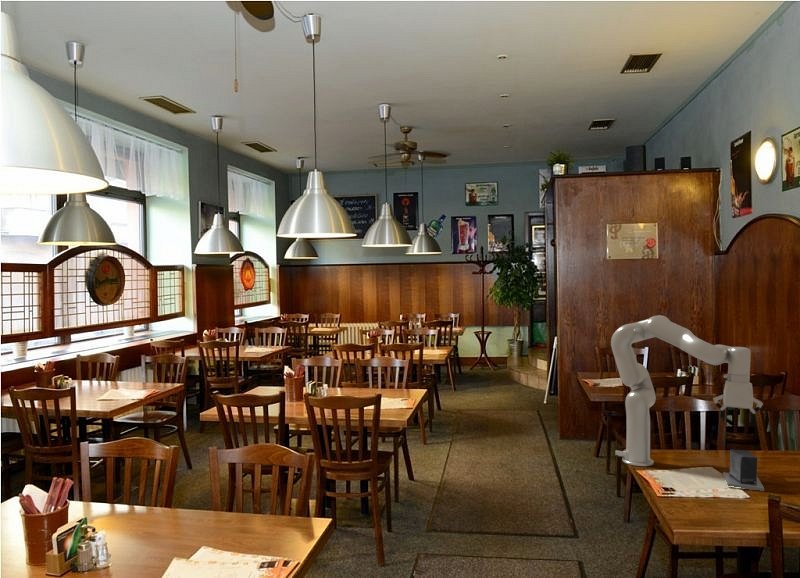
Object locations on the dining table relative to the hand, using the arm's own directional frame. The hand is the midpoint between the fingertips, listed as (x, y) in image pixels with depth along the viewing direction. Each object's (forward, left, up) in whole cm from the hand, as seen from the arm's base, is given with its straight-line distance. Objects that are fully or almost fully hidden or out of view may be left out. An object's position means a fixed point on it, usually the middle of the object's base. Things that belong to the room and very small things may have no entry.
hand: (736, 421), depth 241 cm
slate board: (+2, -4, -23) cm, 24 cm away
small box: (+2, -4, -22) cm, 22 cm away
